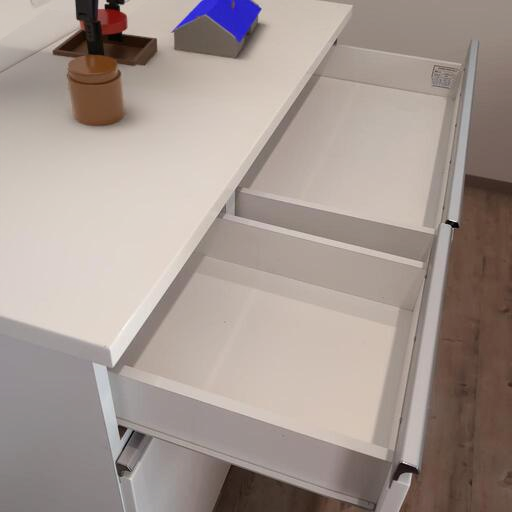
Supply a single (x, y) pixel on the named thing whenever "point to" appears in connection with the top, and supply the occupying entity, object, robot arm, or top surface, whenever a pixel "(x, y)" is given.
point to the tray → (112, 48)
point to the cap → (110, 21)
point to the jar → (95, 90)
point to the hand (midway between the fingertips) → (106, 48)
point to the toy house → (217, 27)
